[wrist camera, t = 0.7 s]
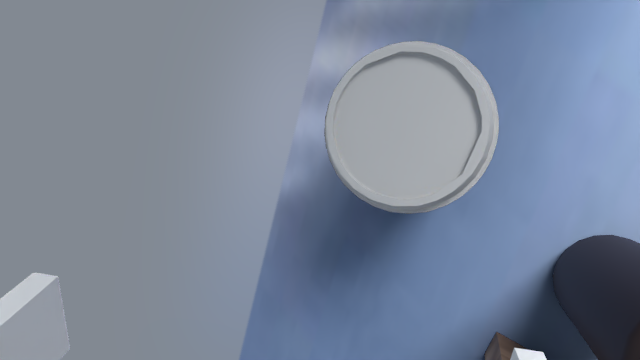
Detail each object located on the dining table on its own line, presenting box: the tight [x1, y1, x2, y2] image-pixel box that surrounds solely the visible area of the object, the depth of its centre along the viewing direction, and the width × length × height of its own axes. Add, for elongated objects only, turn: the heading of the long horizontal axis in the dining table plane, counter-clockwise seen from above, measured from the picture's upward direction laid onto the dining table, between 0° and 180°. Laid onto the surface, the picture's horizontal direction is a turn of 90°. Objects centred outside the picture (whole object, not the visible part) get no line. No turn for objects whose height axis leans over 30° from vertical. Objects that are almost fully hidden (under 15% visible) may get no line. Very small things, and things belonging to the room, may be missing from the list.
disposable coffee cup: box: [324, 41, 499, 214], centre depth 28 cm, size 10×10×12 cm
